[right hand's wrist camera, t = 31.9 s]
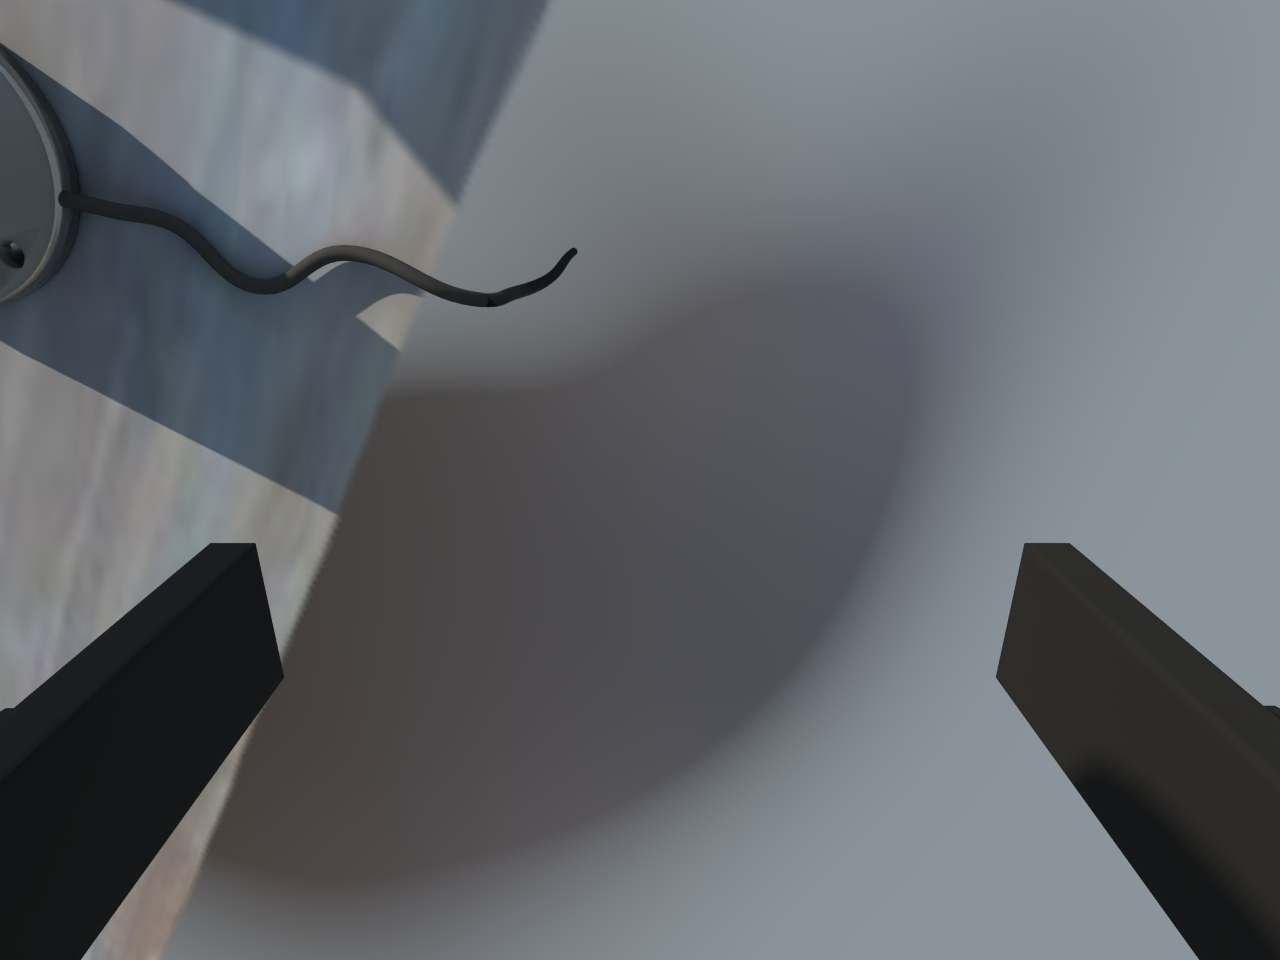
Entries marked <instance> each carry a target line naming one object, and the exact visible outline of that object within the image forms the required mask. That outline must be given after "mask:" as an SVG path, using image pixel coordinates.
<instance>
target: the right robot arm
mask: <svg viewBox="0 0 1280 960" xmlns="http://www.w3.org/2000/svg"><path fill="white" fill-rule="evenodd" d="M79 211H82V212H87V213H91V214H96V215H100V216H105V217H109V218H114V219H119V220H125V221H132V222H139V223H146V224H151V225H155V226H159V227H162V228H165V229H167V230H169V231H171V232H173V233H175V234H177V235H178V236H180V237H181V238H183V239H184V240H185V241H187V242H188V243H189V244H190V245H191V246H192V247H193V248H194V249H195V250H196V251H197V252H198V253H199V254H200V255H201V256H202V257H203V258H204V259H205V260H206V261H207V262H208V264H209V265H210V266H211V267H212V268H213V269H214V270H215V271H216V272H217V273H218V274H219V275H221V276H222V277H223V278H224V279H226V280H227V281H228V282H230V283H231V284H233V285H234V286H236V287H238V288H240V289H242V290H245V291H248V292H251V293H255V294H276V293H279V292H282V291H285V290H287V289H289V288H291V287H293V286H294V285H296V284H298V283H299V282H300V281H302V280H303V279H305V278H306V277H307V276H309V275H310V274H311V273H313V272H314V271H316V270H317V269H319V268H321V267H322V266H324V265H327V264H329V263H332V262H336V261H355V262H361V263H366V264H370V265H373V266H376V267H379V268H381V269H384V270H386V271H388V272H391V273H393V274H395V275H397V276H399V277H400V278H402V279H404V280H406V281H408V282H410V283H412V284H414V285H415V286H417V287H419V288H421V289H423V290H425V291H427V292H429V293H431V294H433V295H436V296H438V297H440V298H443V299H446V300H449V301H452V302H455V303H460V304H464V305H469V306H477V307H498V306H502V305H505V304H507V303H509V302H511V301H514V300H517V299H520V298H523V297H526V296H529V295H532V294H534V293H536V292H538V291H541V290H542V289H544V288H546V287H548V286H549V285H550V284H552V283H553V282H554V281H555V280H556V279H557V278H558V277H559V276H560V275H561V274H562V273H563V271H564V270H565V268H566V267H567V265H568V263H569V262H570V261H571V259H572V258H573V257H574V256H575V255H576V254H577V252H578V251H577V249H576V248H571V249H570V250H569V251H567V252H566V253H565V254H564V255H563V256H562V258H561V259H560V260H559V261H558V263H557V264H556V265H555V266H554V268H553V269H552V270H551V271H549V272H548V273H547V274H545V275H544V276H542V277H540V278H538V279H535V280H533V281H530V282H527V283H524V284H520V285H516V286H513V287H509V288H506V289H504V290H501V291H499V292H495V293H480V292H473V291H468V290H464V289H460V288H456V287H453V286H451V285H448V284H445V283H443V282H441V281H438V280H436V279H434V278H432V277H430V276H428V275H426V274H425V273H423V272H421V271H419V270H417V269H415V268H413V267H412V266H410V265H408V264H406V263H404V262H402V261H400V260H398V259H396V258H394V257H392V256H389V255H387V254H384V253H382V252H379V251H376V250H373V249H369V248H364V247H359V246H349V245H338V246H331V247H327V248H323V249H321V250H319V251H316V252H315V253H313V254H311V255H309V256H308V257H306V258H305V259H304V260H302V261H301V262H299V263H298V264H297V265H295V266H294V267H293V268H291V269H290V270H288V271H287V272H285V273H284V274H282V275H280V276H278V277H274V278H271V279H256V278H252V277H249V276H246V275H244V274H242V273H240V272H239V271H237V270H236V269H235V268H233V267H232V266H231V265H230V264H229V263H228V262H227V261H226V260H225V259H224V258H223V257H222V256H221V255H220V254H219V253H218V252H217V251H216V249H215V248H214V247H213V246H212V245H211V244H210V243H209V242H208V241H207V240H206V239H205V238H204V237H203V236H202V235H201V234H200V233H198V232H197V231H196V230H195V229H194V228H192V227H191V226H190V225H188V224H187V223H185V222H184V221H182V220H180V219H178V218H176V217H174V216H172V215H170V214H168V213H165V212H162V211H159V210H155V209H151V208H146V207H139V206H132V205H125V204H119V203H114V202H110V201H105V200H101V199H97V198H92V197H88V196H83V195H79V184H78V176H77V171H76V167H75V162H74V159H73V155H72V152H71V149H70V146H69V143H68V141H67V138H66V136H65V133H64V131H63V129H62V127H61V125H60V123H59V121H58V119H57V116H56V114H55V113H54V111H53V109H52V108H51V106H50V104H49V103H48V101H47V99H46V98H45V97H44V95H43V94H42V92H41V91H40V89H39V88H38V87H37V85H36V84H35V83H34V81H33V80H32V79H31V78H30V76H29V75H28V74H27V73H26V72H25V70H24V69H23V68H22V67H21V66H20V65H19V64H18V63H17V62H16V61H15V60H14V59H13V58H12V57H11V56H10V55H9V54H8V53H7V52H6V51H5V50H4V49H2V48H1V47H0V304H1V303H6V302H9V301H13V300H16V299H19V298H21V297H24V296H26V295H28V294H30V293H32V292H33V291H35V290H37V289H38V288H40V287H41V286H42V285H44V284H45V283H46V282H47V281H48V280H49V279H50V278H51V277H52V276H53V275H54V274H55V273H56V272H57V271H58V270H59V268H60V267H61V266H62V264H63V263H64V261H65V259H66V257H67V256H68V254H69V252H70V249H71V247H72V244H73V242H74V238H75V235H76V231H77V226H78V220H79ZM283 678H284V675H283V670H282V665H281V660H280V656H279V651H278V646H277V642H276V637H275V632H274V628H273V623H272V618H271V614H270V609H269V604H268V600H267V595H266V590H265V586H264V581H263V576H262V572H261V567H260V562H259V558H258V553H257V548H256V544H255V543H210V544H209V545H208V546H207V547H205V548H204V549H203V550H202V551H201V552H199V553H198V554H197V555H196V556H195V557H193V558H192V559H191V560H190V561H189V562H187V563H186V564H185V565H184V566H183V567H182V568H180V569H179V570H178V571H177V572H176V573H174V574H173V575H172V576H171V577H170V578H168V579H167V580H166V581H165V582H164V583H162V584H161V585H160V586H159V587H158V588H156V589H155V590H154V591H153V592H152V593H151V594H149V595H148V596H147V597H146V598H145V599H143V600H142V601H141V602H140V603H139V604H137V605H136V606H135V607H134V608H133V609H131V610H130V611H129V612H128V613H127V614H125V615H124V616H123V617H122V618H121V619H120V620H118V621H117V622H116V623H115V624H114V625H112V626H111V627H110V628H109V629H108V630H106V631H105V632H104V633H103V634H102V635H100V636H99V637H98V638H97V639H96V640H94V641H93V642H92V643H91V644H90V645H89V646H87V647H86V648H85V649H84V650H83V651H81V652H80V653H79V654H78V655H77V656H75V657H74V658H73V659H72V660H71V661H69V662H68V663H67V664H66V665H65V666H63V667H62V668H61V669H60V670H59V671H58V672H56V673H55V674H54V675H53V676H52V677H50V678H49V679H48V680H47V681H46V682H44V683H43V684H42V685H41V686H40V687H38V688H37V689H36V690H35V691H34V692H32V693H31V694H30V695H29V696H28V697H27V698H25V699H24V700H23V701H22V702H21V703H19V704H18V705H17V706H16V707H15V708H6V709H4V710H2V711H0V960H81V959H82V957H83V956H84V955H85V953H86V952H87V950H88V949H89V948H90V946H91V945H92V943H93V942H94V941H95V939H96V938H97V936H98V935H99V934H100V932H101V931H102V930H103V928H104V927H105V925H106V924H107V923H108V921H109V920H110V918H111V917H112V916H113V914H114V913H115V911H116V910H117V909H118V907H119V906H120V905H121V903H122V902H123V900H124V899H125V898H126V896H127V895H128V893H129V892H130V891H131V889H132V888H133V886H134V885H135V884H136V882H137V881H138V880H139V878H140V877H141V875H142V874H143V873H144V871H145V870H146V868H147V867H148V866H149V864H150V863H151V861H152V860H153V859H154V857H155V856H156V855H157V853H158V852H159V850H160V849H161V848H162V846H163V845H164V843H165V842H166V841H167V839H168V838H169V836H170V835H171V834H172V832H173V831H174V830H175V828H176V827H177V825H178V824H179V823H180V821H181V820H182V818H183V817H184V816H185V814H186V813H187V811H188V810H189V809H190V807H191V806H192V805H193V803H194V802H195V800H196V799H197V798H198V796H199V795H200V793H201V792H202V791H203V789H204V788H205V786H206V785H207V784H208V782H209V781H210V780H211V778H212V777H213V775H214V774H215V773H216V771H217V770H218V768H219V767H220V766H221V764H222V763H223V761H224V760H225V759H226V757H227V756H228V755H229V753H230V752H231V750H232V749H233V748H234V746H235V745H236V743H237V742H238V741H239V739H240V738H241V736H242V735H243V734H244V732H245V731H246V730H247V728H248V727H249V725H250V724H251V723H252V721H253V720H254V718H255V717H256V716H257V714H258V713H259V711H260V710H261V709H262V707H263V706H264V705H265V703H266V702H267V700H268V699H269V698H270V696H271V695H272V693H273V692H274V691H275V689H276V688H277V686H278V685H279V684H280V682H281V681H282V680H283ZM996 678H997V680H998V681H999V682H1000V684H1001V685H1002V686H1003V688H1004V689H1005V691H1006V692H1007V693H1008V695H1009V696H1010V698H1011V699H1012V700H1013V702H1014V703H1015V705H1016V706H1017V707H1018V709H1019V710H1020V711H1021V713H1022V714H1023V716H1024V717H1025V718H1026V720H1027V721H1028V722H1029V724H1030V725H1031V727H1032V728H1033V730H1034V731H1035V732H1036V734H1037V735H1038V736H1039V738H1040V739H1041V741H1042V742H1043V743H1044V745H1045V746H1046V748H1047V749H1048V750H1049V752H1050V753H1051V755H1052V756H1053V757H1054V759H1055V760H1056V761H1057V763H1058V764H1059V766H1060V767H1061V768H1062V770H1063V771H1064V772H1065V774H1066V775H1067V777H1068V778H1069V780H1070V781H1071V782H1072V784H1073V785H1074V786H1075V788H1076V789H1077V791H1078V792H1079V793H1080V795H1081V796H1082V798H1083V799H1084V800H1085V802H1086V803H1087V804H1088V806H1089V807H1090V809H1091V810H1092V811H1093V813H1094V814H1095V816H1096V817H1097V818H1098V820H1099V821H1100V823H1101V824H1102V825H1103V827H1104V828H1105V829H1106V831H1107V832H1108V834H1109V835H1110V836H1111V838H1112V839H1113V841H1114V842H1115V843H1116V845H1117V846H1118V848H1119V849H1120V850H1121V852H1122V853H1123V855H1124V856H1125V857H1126V859H1127V860H1128V861H1129V863H1130V864H1131V866H1132V867H1133V868H1134V870H1135V871H1136V873H1137V874H1138V875H1139V877H1140V878H1141V879H1142V881H1143V882H1144V884H1145V885H1146V886H1147V888H1148V889H1149V891H1150V892H1151V893H1152V895H1153V896H1154V898H1155V899H1156V900H1157V902H1158V903H1159V905H1160V906H1161V907H1162V909H1163V910H1164V911H1165V913H1166V914H1167V916H1168V917H1169V918H1170V920H1171V921H1172V923H1173V924H1174V925H1175V927H1176V928H1177V929H1178V931H1179V932H1180V934H1181V935H1182V936H1183V938H1184V939H1185V941H1186V942H1187V943H1188V945H1189V946H1190V948H1191V949H1192V950H1193V952H1194V953H1195V955H1196V956H1197V957H1198V959H1199V960H1280V708H1278V707H1276V706H1263V705H1262V704H1261V703H1259V702H1258V701H1257V700H1256V699H1255V698H1253V697H1252V696H1251V695H1250V694H1249V693H1247V692H1246V691H1245V690H1244V689H1243V688H1242V687H1240V686H1239V685H1238V684H1237V683H1236V682H1234V681H1233V680H1232V679H1231V678H1230V677H1228V676H1227V675H1226V674H1225V673H1224V672H1222V671H1221V670H1220V669H1219V668H1218V667H1216V666H1215V665H1214V664H1213V663H1212V662H1211V661H1209V660H1208V659H1207V658H1206V657H1205V656H1203V655H1202V654H1201V653H1200V652H1199V651H1197V650H1196V649H1195V648H1194V647H1193V646H1191V645H1190V644H1189V643H1188V642H1187V641H1185V640H1184V639H1183V638H1182V637H1181V636H1180V635H1178V634H1177V633H1176V632H1175V631H1174V630H1172V629H1171V628H1170V627H1169V626H1168V625H1166V624H1165V623H1164V622H1163V621H1162V620H1160V619H1159V618H1158V617H1157V616H1156V615H1154V614H1153V613H1152V612H1151V611H1150V610H1149V609H1147V608H1146V607H1145V606H1144V605H1143V604H1141V603H1140V602H1139V601H1138V600H1137V599H1135V598H1134V597H1133V596H1132V595H1131V594H1129V593H1128V592H1127V591H1126V590H1125V589H1124V588H1122V587H1121V586H1120V585H1119V584H1118V583H1116V582H1115V581H1114V580H1113V579H1112V578H1110V577H1109V576H1108V575H1107V574H1106V573H1104V572H1103V571H1102V570H1101V569H1100V568H1098V567H1097V566H1096V565H1095V564H1094V563H1093V562H1091V561H1090V560H1089V559H1088V558H1087V557H1085V556H1084V555H1083V554H1082V553H1081V552H1079V551H1078V550H1077V549H1076V548H1075V547H1073V546H1072V545H1071V544H1070V543H1025V544H1024V548H1023V553H1022V558H1021V563H1020V567H1019V572H1018V576H1017V581H1016V586H1015V590H1014V595H1013V600H1012V605H1011V609H1010V614H1009V618H1008V623H1007V628H1006V632H1005V637H1004V642H1003V647H1002V651H1001V656H1000V660H999V665H998V670H997V675H996Z"/></svg>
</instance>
